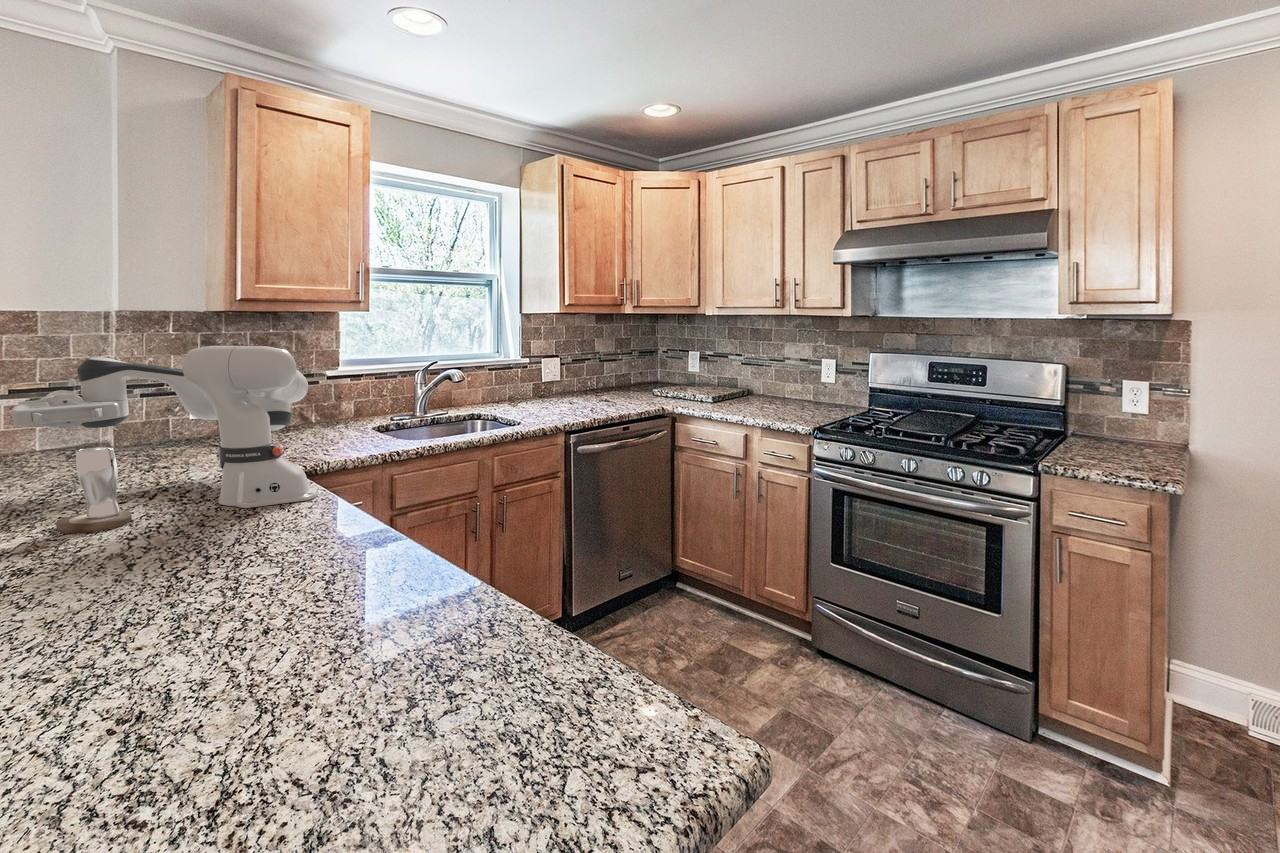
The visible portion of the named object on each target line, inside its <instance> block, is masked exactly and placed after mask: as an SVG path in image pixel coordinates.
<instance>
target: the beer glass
mask: <svg viewBox="0 0 1280 853" xmlns="http://www.w3.org/2000/svg"><path fill="white" fill-rule="evenodd" d="M75 466H76V472H77V477H78V480H79V484H80V486H81V489H82V491H83V494H84V496H85V500H86V513H87V514H86V517H87V518H89V519H95V518H104V517H110V516H114V515H118V514H120V513H121V507H120V505H119V502H118V497H117V495H118V494H117V488H118V472H119V470H118V464H117V458H116V454H115V450H114V447H113V446H99V447H98V446H97V447H89V448H88V447H87V448H82V449H81V448H80V449H76V450H75Z"/></svg>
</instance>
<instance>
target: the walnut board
mask: <svg viewBox="0 0 1280 853" xmlns="http://www.w3.org/2000/svg"><path fill="white" fill-rule="evenodd" d="M120 510H121V509H120ZM86 514H87V512H85V513H80V514H75V515H71V516H67V517H64V518H61V519H59V520H58V521H56V523H55V528H56V532H57V531H58V532H57V533H59V532H60V534H64V533H71V534H70V535H73V534H72V533H75V534H74V535H77V534H76V533H82V534H88V533H87V532H92V533H97V532H96V531H99V532H102V531H101V530H104V531H108V530H107V529H109V530H112V529H111V528H113V529H117V528H119V526H121V527H123V526H125V525H124V524H126V525H128V524H130V523H131V522H132V521H133V520H132V512H130V511H127V510H124V509H123V510H121V513H120V514H118V515H114V516H110V517H104V518H95V519H89V518H87V517H86ZM131 520H132V521H131ZM130 521H131V522H130ZM129 522H130V523H129ZM127 523H128V524H127ZM122 525H123V526H122ZM116 527H117V528H116Z"/></svg>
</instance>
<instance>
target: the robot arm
mask: <svg viewBox="0 0 1280 853" xmlns="http://www.w3.org/2000/svg"><path fill="white" fill-rule="evenodd" d="M181 367H182V369H181V368H175V367H174V368H173V367H168V366H160V365H152V364H144V363H136V362H127V361H123V360H119V359H114V358H110V357H105V356H104V357H102V356H96V357H91V358H86V359H85V360H84V361H82V362H81V364H80V365H79V366H78V367H77V368H76V372H77V376H78V381H79V383H80V390H81V391H80V392H81V396H80V395H78V394H77V393H76V392H73V391H71V390H66V389H65V390H64V389H61V390H59V389H58V390H55V391H51V392H49V393H48V394H46V396H44V397H41V398H40V397H38V398H34V399H26V400H21V401H18V404H17V405H15V406H14V407H13V408H12V409H11V419H12V422H13V423H12V424H13V426H14V427H23V428H39V427H41V428H44V427H45V428H55V429H56V428H59V429H73V428H76V427H78V426H82V427H84V428H89V429H100V428H101V429H102V428H108V427H114V426H117V425H119V424H121V423H123V421H125V420H126V419H127V418H128V417H129V415H130V414H129V413H130V410H129V398H128V394H127V383H126V382H127V379H128V378H135V379H144V380H145V379H146V380H154V381H160V382H163V383H166V384H168V386H170V387H171V388H172V390H173V391H174V392H175V394H176V396H177V398H178V399H179V401H180V403H181V406H182V407H183V408H184V410H185V411H186V412H187V413H188V414H190V415H191V416H192V417H194V418H196V419H199V420H206V421H207V420H208V421H214V420H216V421H217V423H218V429H219V430H218V431H219V438H220V444H221V445H220V447H219V450H218V456H219V465H220V468H221V485H220V493H219V498H218V500H217V503H218V504H220V505H222V506H230V507H238V508H241V509H248V508H250V509H251V508H256V507H257V508H258V507H265V506H272V505H279V504H287V503H289V504H290V503H296V502H303V501H305V502H306V501H309V500H310V501H311V500H312V499H314V498H315V497H317V496H318V494H319V492H318V490H319V489H318V488H317V487H316V486H315V485H311V484H309V481H308V478H307V474H306V473H305V471H304V470H303V468H301V467H300V466H298V465H296V464H294V463H293V462H291V461H289V460H288V459H286V458H285V457H282V451H283V449H282V447H281V445H280V444H279V443H278V444H276V443H274V442H272V433H271V432H272V431H273V432H274V431H278V430H281V429H283V428H287V427H288V426H289V425H290V424H291V421H292V414H293V412H292V411H291V408H292V406H291V404H293V403H297V402H299V401H301V400H302V399H304V398H305V397H306V396H307V394H308V391H309V383H308V379H307V378H306V376H304V374H303V373H302V372H301V371H299V370H298V369H297V363H296V360H295V358H294V356H293V355H292V353H290V352H289V351H288V350H287V349H282V348H279V347H272V346H267V345H266V346H265V345H264V346H263V345H208V346H201V347H198V348H197V347H196V348H193V349H190V350H189V351H188V352H187V353H186V354H185V356H184V358H183V361H182V365H181Z"/></svg>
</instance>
